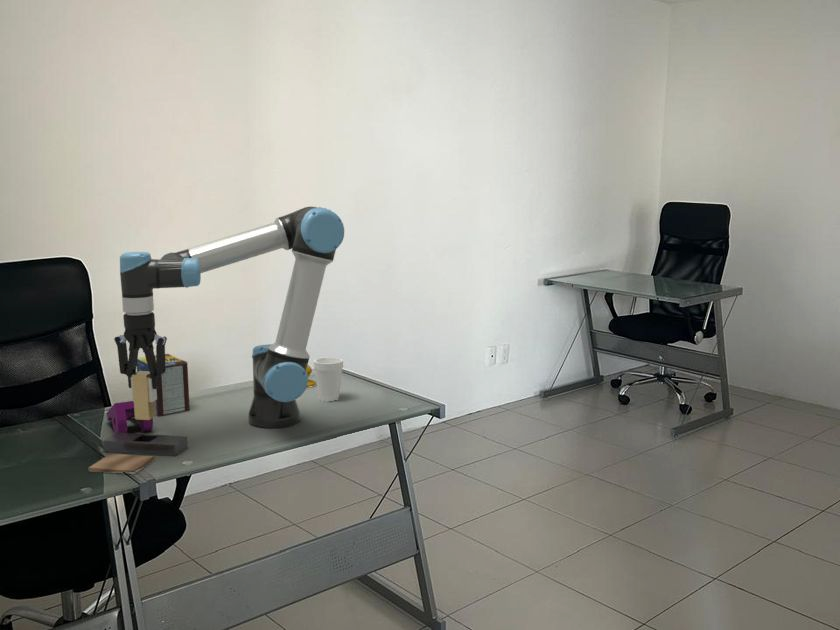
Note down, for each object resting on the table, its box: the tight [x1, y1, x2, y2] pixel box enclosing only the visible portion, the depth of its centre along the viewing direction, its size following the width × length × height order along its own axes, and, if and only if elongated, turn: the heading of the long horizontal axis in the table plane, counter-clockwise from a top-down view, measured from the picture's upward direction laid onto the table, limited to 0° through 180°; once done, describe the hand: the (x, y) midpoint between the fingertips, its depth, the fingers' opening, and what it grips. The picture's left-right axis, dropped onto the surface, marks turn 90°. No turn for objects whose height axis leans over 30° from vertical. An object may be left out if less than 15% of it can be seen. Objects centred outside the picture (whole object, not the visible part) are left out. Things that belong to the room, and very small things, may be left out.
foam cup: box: [313, 356, 344, 402], centre depth 252 cm, size 10×9×13 cm
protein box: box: [136, 353, 191, 417], centre depth 240 cm, size 10×15×16 cm
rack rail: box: [102, 432, 188, 457], centre depth 204 cm, size 20×7×3 cm, turn 81°
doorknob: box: [306, 364, 317, 387], centre depth 269 cm, size 8×8×8 cm
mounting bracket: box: [106, 400, 154, 434], centre depth 222 cm, size 9×8×18 cm
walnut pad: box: [87, 453, 155, 473], centre depth 192 cm, size 12×10×1 cm
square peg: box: [132, 371, 157, 421], centre depth 202 cm, size 4×4×12 cm
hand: (144, 400), depth 202 cm, fingers closed on square peg, 4 cm apart
